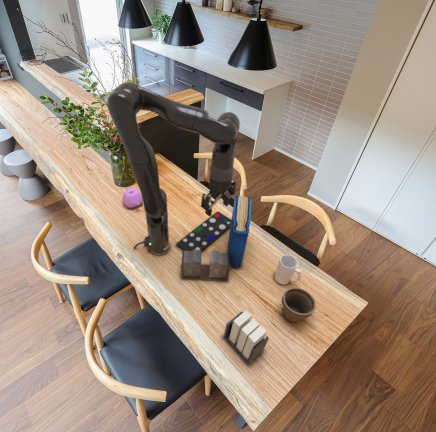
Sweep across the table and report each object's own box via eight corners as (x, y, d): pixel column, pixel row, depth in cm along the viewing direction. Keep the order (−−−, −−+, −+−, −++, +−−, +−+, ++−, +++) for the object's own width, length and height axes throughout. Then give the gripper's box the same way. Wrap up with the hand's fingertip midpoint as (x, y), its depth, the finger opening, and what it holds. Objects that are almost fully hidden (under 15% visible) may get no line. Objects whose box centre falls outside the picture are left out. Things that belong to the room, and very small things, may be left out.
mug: (270, 278, 129) (276, 260, 121) (279, 269, 132) (286, 251, 124) (291, 293, 124) (299, 276, 115) (300, 283, 127) (308, 266, 119)
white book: (228, 338, 110) (233, 320, 100) (240, 328, 113) (245, 310, 103) (234, 344, 109) (239, 326, 99) (245, 334, 111) (251, 315, 101)
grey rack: (181, 279, 130) (181, 262, 121) (182, 264, 135) (182, 247, 127) (227, 281, 128) (230, 264, 120) (226, 266, 134) (229, 249, 125)
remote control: (234, 224, 152) (235, 221, 151) (193, 258, 137) (194, 255, 136) (217, 213, 158) (217, 210, 157) (176, 245, 143) (176, 242, 141)
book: (241, 271, 132) (250, 232, 114) (225, 268, 133) (231, 229, 115) (243, 234, 147) (252, 195, 129) (229, 232, 148) (235, 193, 130)
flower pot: (302, 300, 122) (310, 286, 114) (312, 327, 113) (320, 314, 106) (273, 301, 122) (279, 287, 114) (281, 328, 113) (288, 315, 106)
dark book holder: (223, 337, 111) (227, 318, 101) (238, 325, 115) (243, 305, 104) (248, 364, 104) (255, 347, 94) (263, 351, 108) (271, 332, 97)
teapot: (137, 193, 170) (135, 180, 164) (148, 209, 161) (147, 195, 154) (119, 199, 167) (117, 186, 160) (130, 216, 157) (128, 202, 151)
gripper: (228, 161, 106) (223, 196, 117) (197, 177, 99) (195, 212, 111) (244, 171, 101) (238, 207, 113) (213, 188, 95) (209, 224, 107)
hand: (217, 209), depth 112 cm, fingers open, 8 cm apart
